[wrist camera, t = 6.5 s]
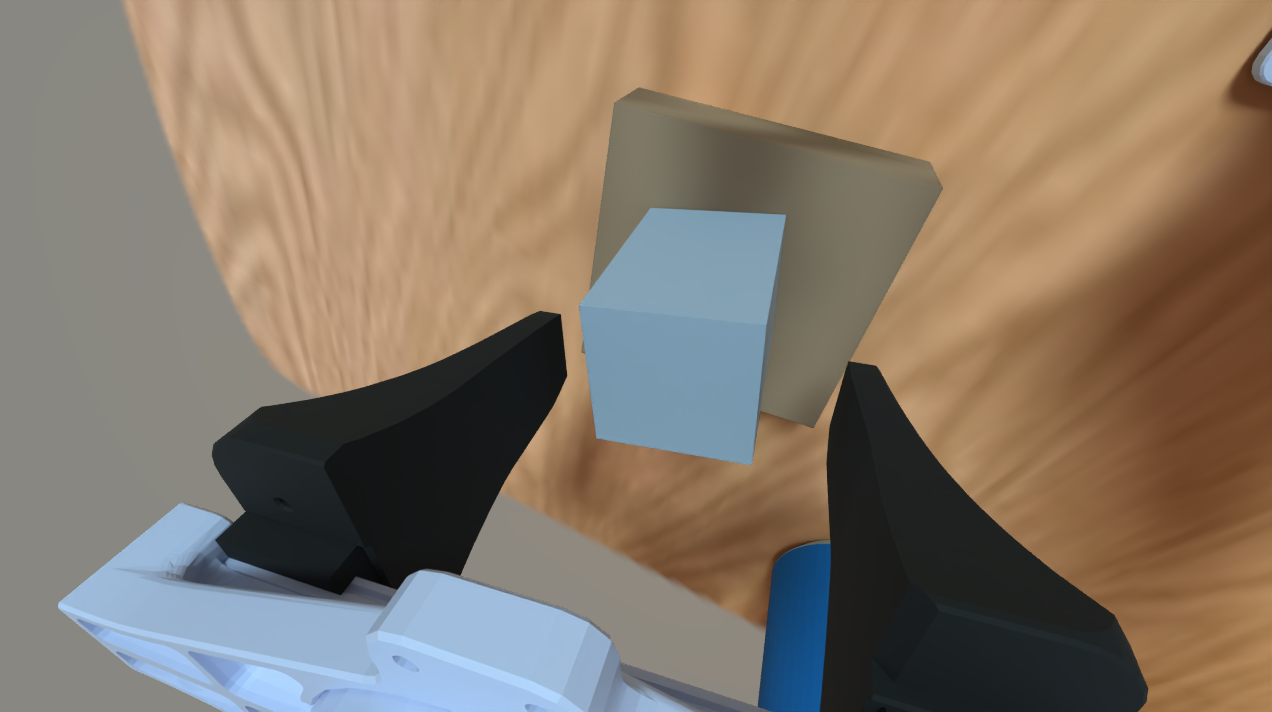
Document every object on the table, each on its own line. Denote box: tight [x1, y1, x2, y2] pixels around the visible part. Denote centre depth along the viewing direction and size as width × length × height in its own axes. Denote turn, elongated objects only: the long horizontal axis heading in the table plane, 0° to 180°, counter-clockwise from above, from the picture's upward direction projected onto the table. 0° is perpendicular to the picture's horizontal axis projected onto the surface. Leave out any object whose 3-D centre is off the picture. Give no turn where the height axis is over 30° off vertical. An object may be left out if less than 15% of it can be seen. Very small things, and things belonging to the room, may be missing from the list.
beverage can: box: [758, 540, 831, 712], centre depth 22 cm, size 6×6×12 cm
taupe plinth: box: [582, 88, 943, 428], centre depth 18 cm, size 9×9×3 cm
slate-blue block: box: [579, 208, 786, 465], centre depth 15 cm, size 4×4×6 cm
